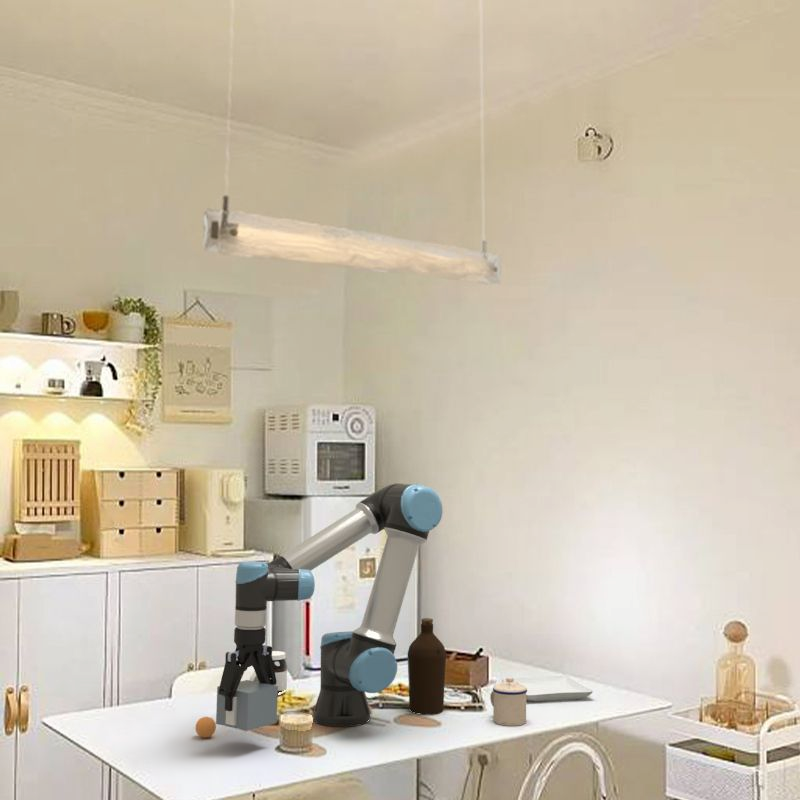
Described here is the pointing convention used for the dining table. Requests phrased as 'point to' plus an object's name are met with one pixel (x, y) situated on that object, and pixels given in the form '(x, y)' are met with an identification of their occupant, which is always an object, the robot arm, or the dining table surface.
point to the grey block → (251, 706)
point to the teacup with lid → (509, 703)
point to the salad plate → (553, 688)
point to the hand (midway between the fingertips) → (247, 720)
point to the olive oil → (426, 671)
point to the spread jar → (277, 670)
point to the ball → (205, 727)
